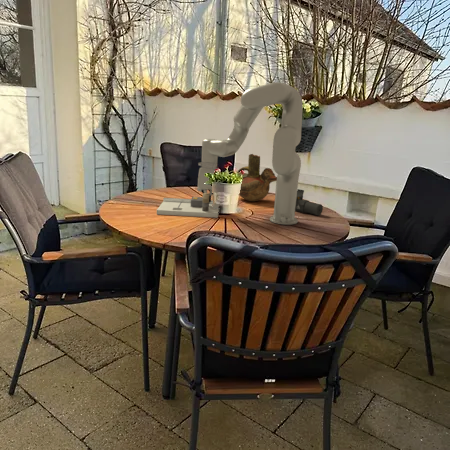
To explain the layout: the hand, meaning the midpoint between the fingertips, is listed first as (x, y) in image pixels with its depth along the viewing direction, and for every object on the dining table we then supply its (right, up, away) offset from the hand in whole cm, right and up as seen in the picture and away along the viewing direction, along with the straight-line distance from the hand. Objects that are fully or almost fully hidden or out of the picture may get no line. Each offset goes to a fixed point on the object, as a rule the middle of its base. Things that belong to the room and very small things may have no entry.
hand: (207, 203), depth 205 cm
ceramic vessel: (+24, +2, +26) cm, 35 cm away
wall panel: (-9, -3, -1) cm, 9 cm away
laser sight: (+46, -4, +8) cm, 47 cm away
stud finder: (-5, -1, 0) cm, 5 cm away
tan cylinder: (-1, -4, -9) cm, 10 cm away
